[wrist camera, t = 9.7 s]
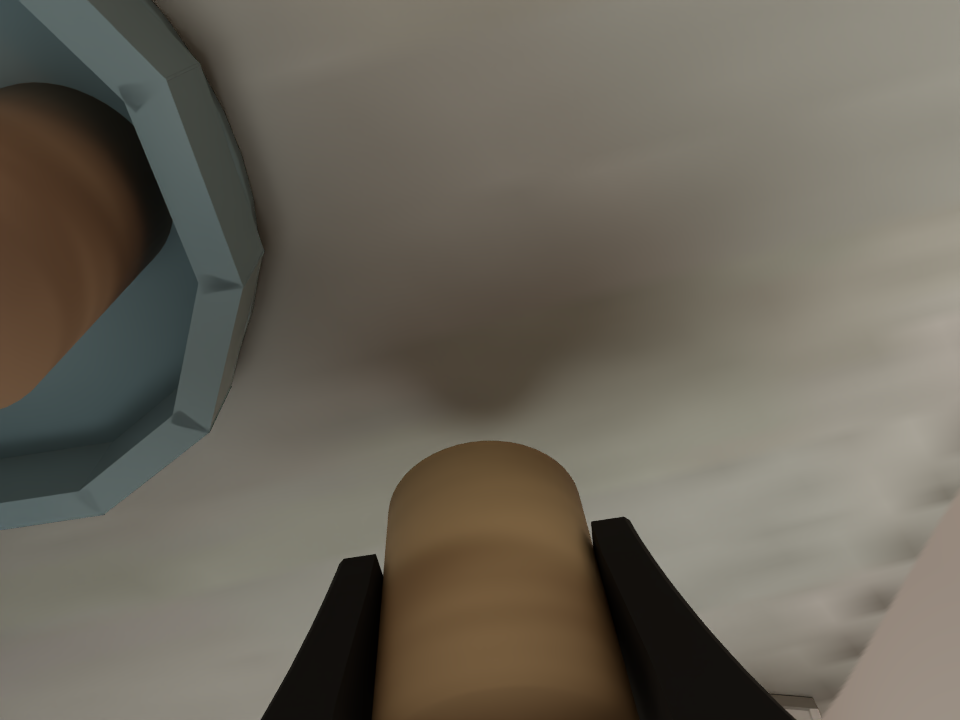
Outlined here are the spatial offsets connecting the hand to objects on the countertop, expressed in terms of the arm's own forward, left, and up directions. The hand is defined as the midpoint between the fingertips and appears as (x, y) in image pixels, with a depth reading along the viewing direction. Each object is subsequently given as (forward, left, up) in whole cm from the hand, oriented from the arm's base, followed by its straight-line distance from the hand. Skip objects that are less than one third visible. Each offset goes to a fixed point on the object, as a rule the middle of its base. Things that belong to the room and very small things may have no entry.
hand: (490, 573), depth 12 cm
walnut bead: (+7, +7, -5) cm, 11 cm away
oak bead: (0, 0, -2) cm, 2 cm away
